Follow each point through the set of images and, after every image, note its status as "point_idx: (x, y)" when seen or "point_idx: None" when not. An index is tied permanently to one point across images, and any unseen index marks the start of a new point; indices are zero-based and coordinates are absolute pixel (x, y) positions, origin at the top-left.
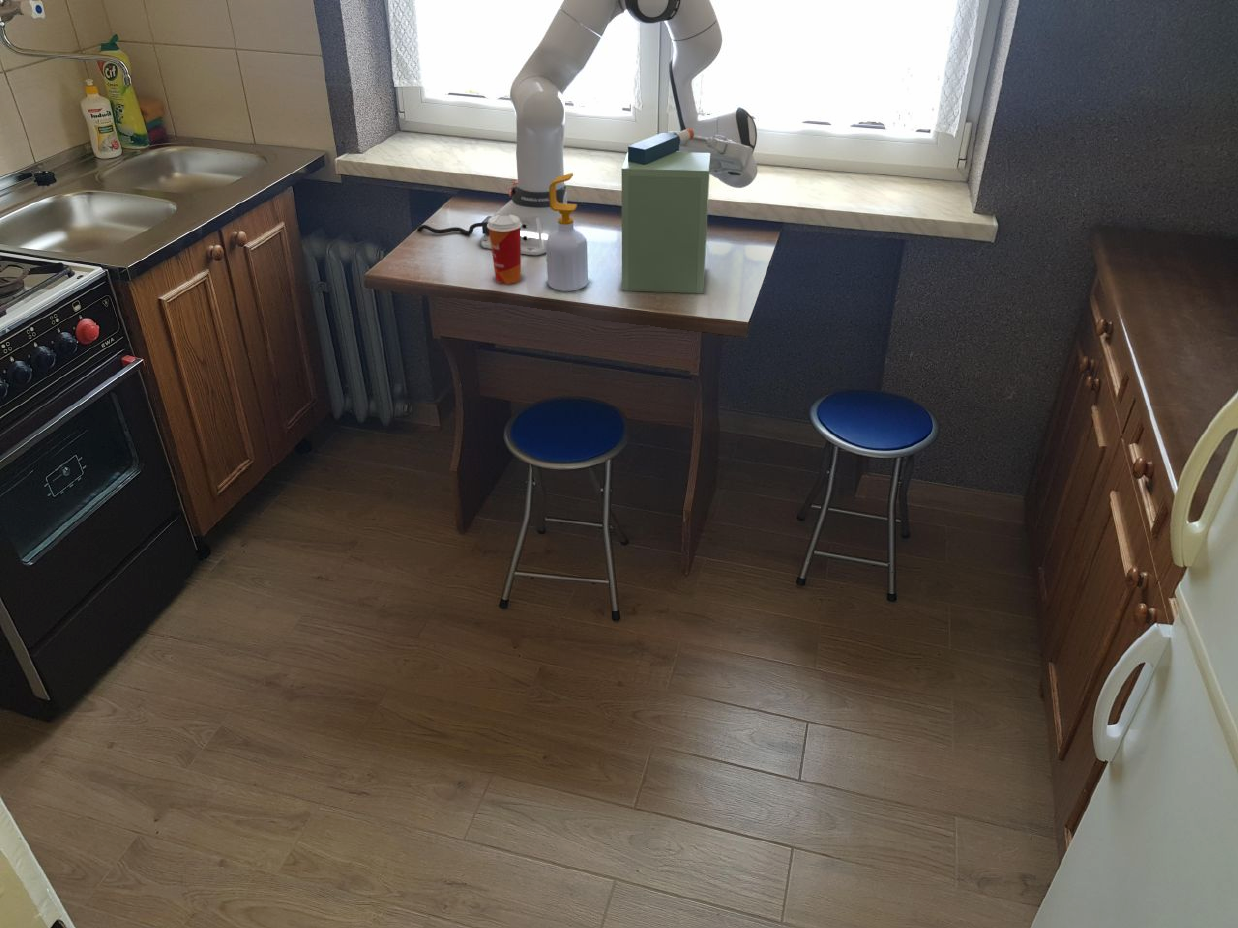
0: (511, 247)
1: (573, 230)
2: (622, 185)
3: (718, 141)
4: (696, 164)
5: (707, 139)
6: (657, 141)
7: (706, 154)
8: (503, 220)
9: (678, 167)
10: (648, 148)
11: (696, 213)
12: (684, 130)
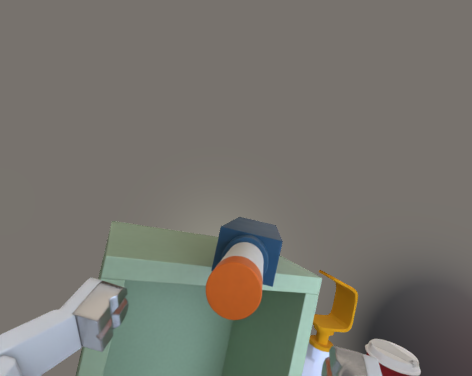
0: None
1: (306, 355)
2: None
3: (43, 317)
4: (140, 232)
5: (125, 291)
6: (246, 223)
7: (119, 251)
8: (390, 348)
9: (172, 232)
10: (238, 217)
11: None
12: (244, 253)
